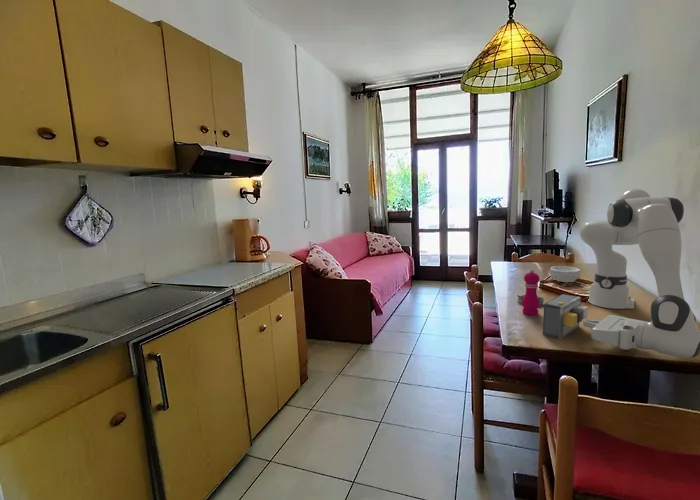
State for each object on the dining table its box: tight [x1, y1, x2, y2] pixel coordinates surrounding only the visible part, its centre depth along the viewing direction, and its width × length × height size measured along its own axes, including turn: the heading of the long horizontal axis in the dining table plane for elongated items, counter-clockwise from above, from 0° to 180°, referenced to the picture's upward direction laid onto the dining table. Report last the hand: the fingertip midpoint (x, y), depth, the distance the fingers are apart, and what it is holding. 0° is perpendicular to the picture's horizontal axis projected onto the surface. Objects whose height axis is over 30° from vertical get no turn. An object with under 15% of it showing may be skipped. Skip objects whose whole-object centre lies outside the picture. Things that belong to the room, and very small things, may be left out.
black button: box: [570, 308, 583, 324], centre depth 134 cm, size 4×4×4 cm
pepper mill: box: [521, 268, 541, 317], centre depth 157 cm, size 7×7×20 cm
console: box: [542, 293, 582, 340], centre depth 137 cm, size 18×6×13 cm, turn 130°
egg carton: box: [516, 294, 546, 306], centre depth 172 cm, size 11×8×4 cm
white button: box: [575, 305, 589, 320], centre depth 138 cm, size 4×4×4 cm
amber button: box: [564, 312, 577, 327], centre depth 131 cm, size 4×4×4 cm
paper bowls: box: [549, 265, 581, 283], centre depth 210 cm, size 15×15×8 cm
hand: (584, 322), depth 127 cm, fingers closed
